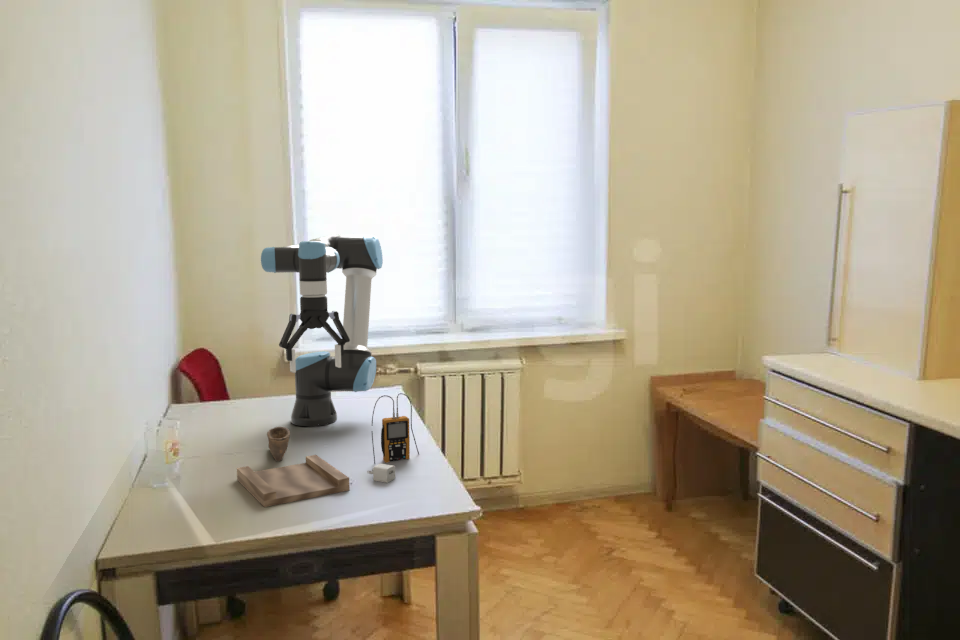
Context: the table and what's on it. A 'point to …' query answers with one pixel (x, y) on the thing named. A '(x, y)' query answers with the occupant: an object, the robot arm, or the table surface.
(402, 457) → the multimeter
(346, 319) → the robot arm
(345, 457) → the table surface
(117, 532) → the table surface
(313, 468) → the block
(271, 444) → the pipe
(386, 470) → the usb wall charger
